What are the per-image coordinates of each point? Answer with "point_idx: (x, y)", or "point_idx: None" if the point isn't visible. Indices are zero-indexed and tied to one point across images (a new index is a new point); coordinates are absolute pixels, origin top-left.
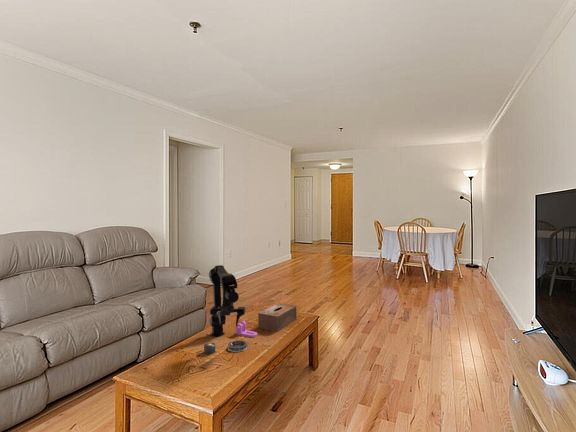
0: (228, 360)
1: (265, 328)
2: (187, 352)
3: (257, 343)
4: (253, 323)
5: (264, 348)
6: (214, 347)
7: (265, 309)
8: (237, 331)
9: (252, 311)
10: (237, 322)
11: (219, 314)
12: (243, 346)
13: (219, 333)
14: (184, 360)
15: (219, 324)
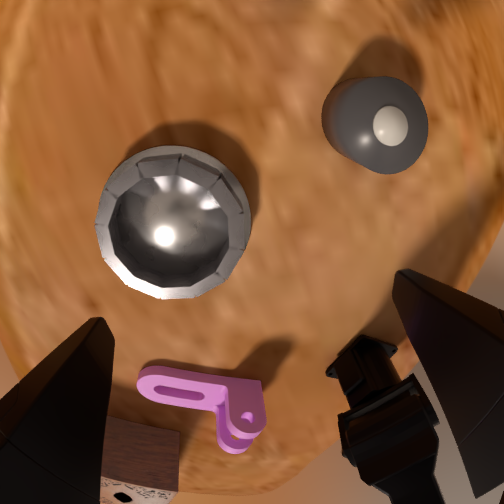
0: (164, 5)
1: (142, 427)
2: (474, 118)
3: (81, 302)
4: (221, 450)
5: (16, 246)
6: (339, 107)
7: (169, 502)
8: (253, 394)
9: (261, 484)
10: (47, 361)
11: (496, 452)
12: (101, 200)
13: (353, 356)
14: (453, 17)
15: (421, 280)
